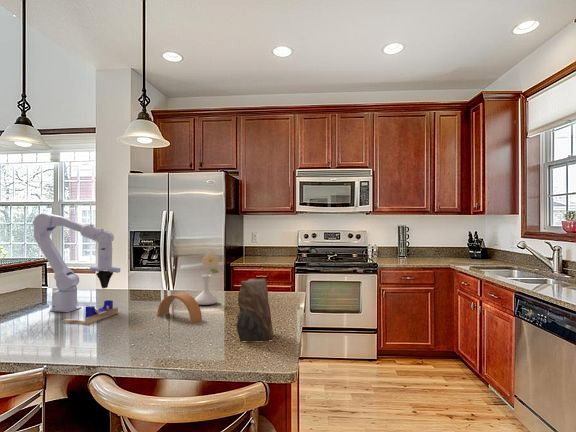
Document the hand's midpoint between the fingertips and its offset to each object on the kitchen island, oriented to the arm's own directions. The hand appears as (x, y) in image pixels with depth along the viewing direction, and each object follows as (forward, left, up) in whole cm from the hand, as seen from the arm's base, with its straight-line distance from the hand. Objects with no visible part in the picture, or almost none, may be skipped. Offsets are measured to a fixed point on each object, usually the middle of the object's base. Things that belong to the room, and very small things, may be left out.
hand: (104, 287), depth 164 cm
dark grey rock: (+79, -22, -10) cm, 83 cm away
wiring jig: (+7, -14, -9) cm, 18 cm away
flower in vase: (+41, +20, -10) cm, 47 cm away
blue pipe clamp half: (+8, -13, -10) cm, 18 cm away
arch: (+40, -5, -10) cm, 42 cm away
